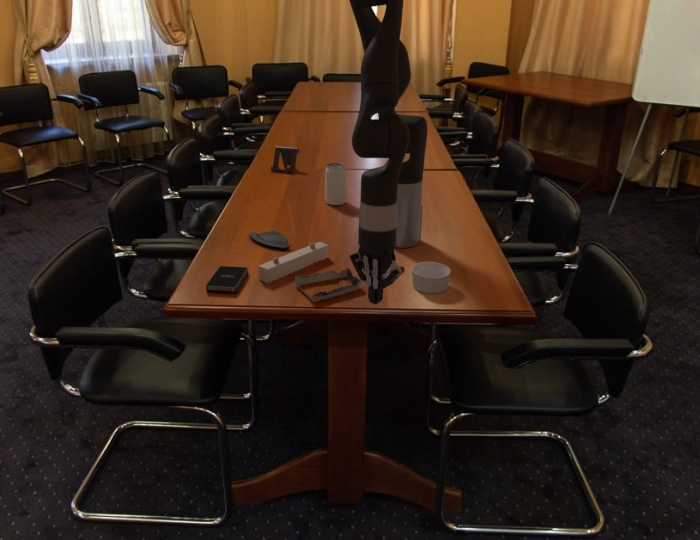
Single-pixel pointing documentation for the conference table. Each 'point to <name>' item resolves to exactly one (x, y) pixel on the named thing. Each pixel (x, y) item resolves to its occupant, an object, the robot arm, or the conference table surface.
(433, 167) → the conference table surface
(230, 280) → the external hard drive
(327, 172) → the can
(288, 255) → the grey toothed bar
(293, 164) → the portable electronic device stand
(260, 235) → the fan shaped piece
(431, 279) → the ramekin
